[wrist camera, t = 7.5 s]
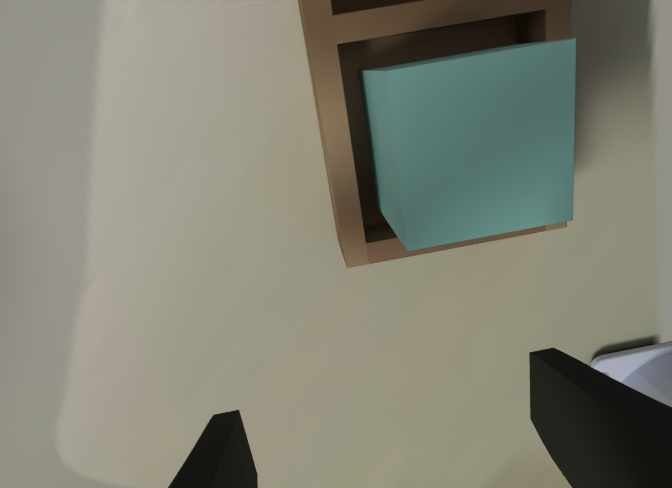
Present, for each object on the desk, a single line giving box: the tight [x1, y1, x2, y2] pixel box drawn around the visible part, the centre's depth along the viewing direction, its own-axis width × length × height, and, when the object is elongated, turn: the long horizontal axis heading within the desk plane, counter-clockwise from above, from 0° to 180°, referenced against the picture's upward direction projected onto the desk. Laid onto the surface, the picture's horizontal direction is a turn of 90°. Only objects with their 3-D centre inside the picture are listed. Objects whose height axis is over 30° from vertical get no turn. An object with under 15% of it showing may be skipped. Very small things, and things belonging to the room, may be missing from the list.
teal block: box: [358, 38, 576, 251], centre depth 16 cm, size 5×5×5 cm
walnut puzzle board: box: [298, 0, 570, 268], centre depth 15 cm, size 16×8×6 cm, turn 9°
